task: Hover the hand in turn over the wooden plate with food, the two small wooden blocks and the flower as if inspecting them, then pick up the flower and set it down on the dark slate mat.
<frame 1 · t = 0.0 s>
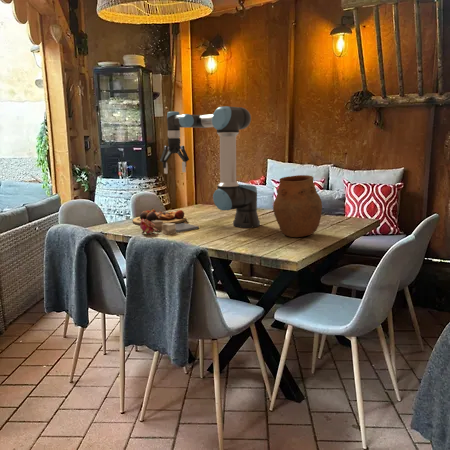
hand: (175, 172, 267), 28 cm above the table, tool pointing down, fingers open, 13 cm apart
pot: (296, 235, 219), on the table
flower: (148, 234, 226), on the table
walnut block: (157, 230, 236), on the table
slate mat: (181, 228, 239), on the table
wooden plate with food: (159, 222, 261), on the table
beech block: (168, 233, 227), on the table
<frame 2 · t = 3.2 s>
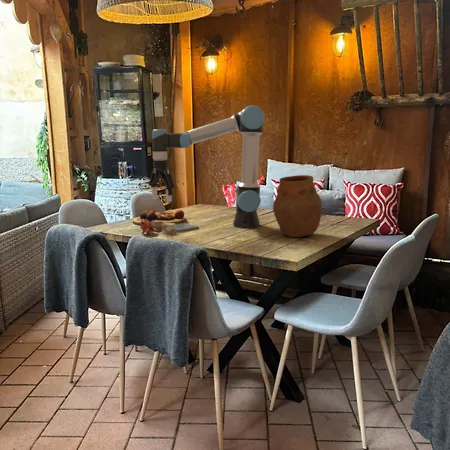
hand: (161, 200, 228), 17 cm above the table, tool pointing down, fingers open, 13 cm apart
nothing on the table moved.
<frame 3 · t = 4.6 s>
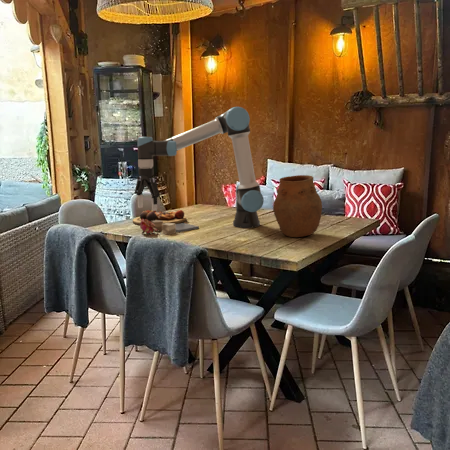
hand: (147, 209, 224), 13 cm above the table, tool pointing down, fingers open, 13 cm apart
nothing on the table moved.
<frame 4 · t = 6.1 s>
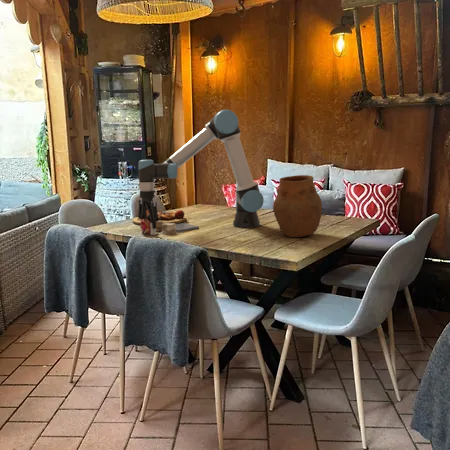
hand: (148, 233, 226), 0 cm above the table, tool pointing down, fingers closed on flower, 8 cm apart
flower: (149, 234, 226), on the table, touching gripper
everything else where it was.
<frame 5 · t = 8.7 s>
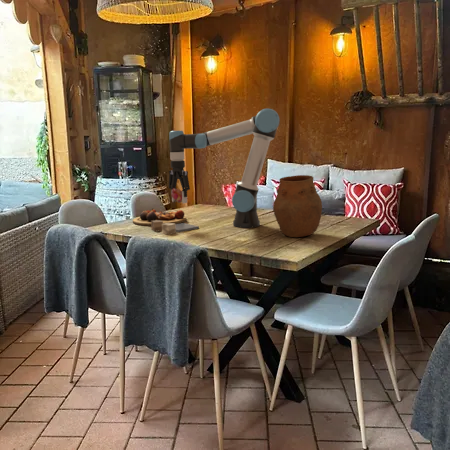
hand: (179, 202, 235), 15 cm above the table, tool pointing down, fingers closed on flower, 8 cm apart
flower: (180, 203, 235), point 14 cm above the table, touching gripper
everything else where it was.
when the fingers open (3 cm above the table, at t = 11.3 s): flower drops 1 cm, resting on slate mat.
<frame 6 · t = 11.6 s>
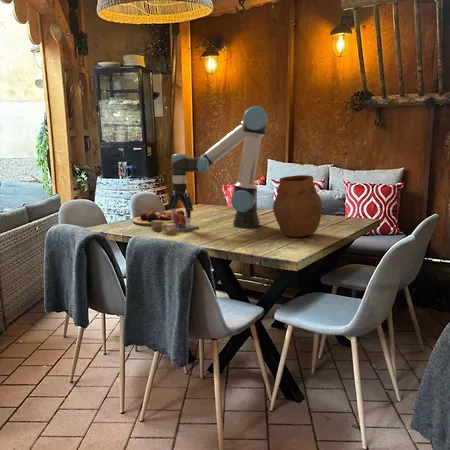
hand: (180, 221, 238), 4 cm above the table, tool pointing down, fingers open, 12 cm apart
flower: (181, 226, 239), point 1 cm above the table, touching slate mat
everything else where it was.
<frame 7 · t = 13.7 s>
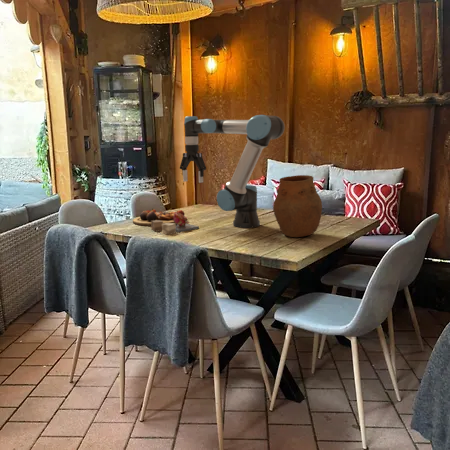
hand: (193, 182, 249), 24 cm above the table, tool pointing down, fingers open, 13 cm apart
nothing on the table moved.
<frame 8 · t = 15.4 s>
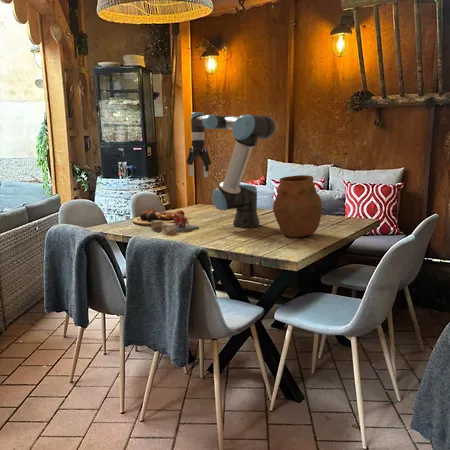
hand: (198, 176, 256), 27 cm above the table, tool pointing down, fingers open, 13 cm apart
nothing on the table moved.
at the end: flower inside the target area on the slate mat (0.2 cm from its centre), point 1.0 cm above the slate mat's base; flower tilted 0°; the gripper is holding nothing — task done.
